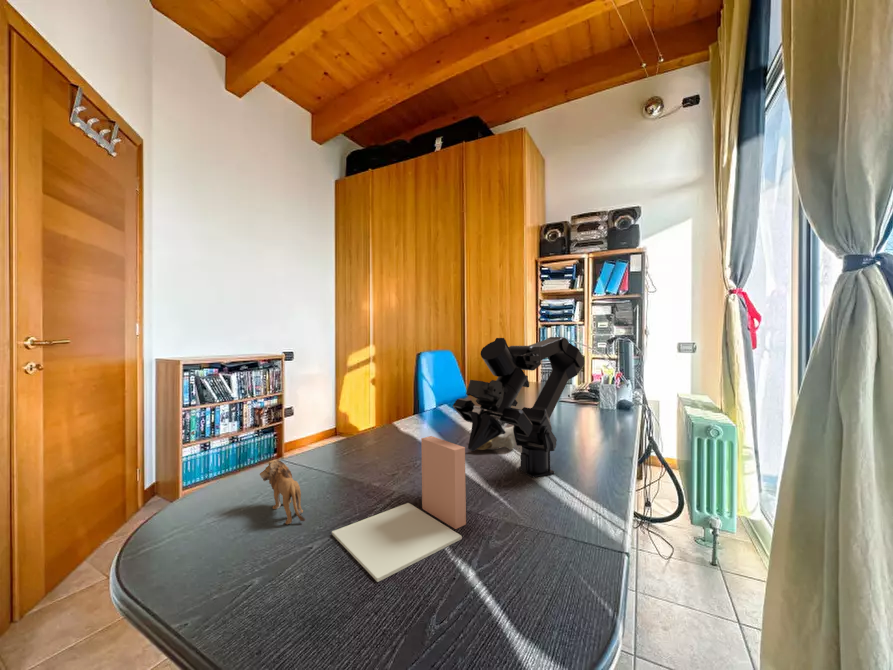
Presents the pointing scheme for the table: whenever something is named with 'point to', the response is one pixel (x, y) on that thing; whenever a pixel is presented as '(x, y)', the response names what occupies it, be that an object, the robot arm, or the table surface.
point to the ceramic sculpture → (501, 440)
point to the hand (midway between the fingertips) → (470, 449)
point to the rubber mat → (394, 539)
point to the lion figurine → (283, 488)
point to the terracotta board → (444, 480)
